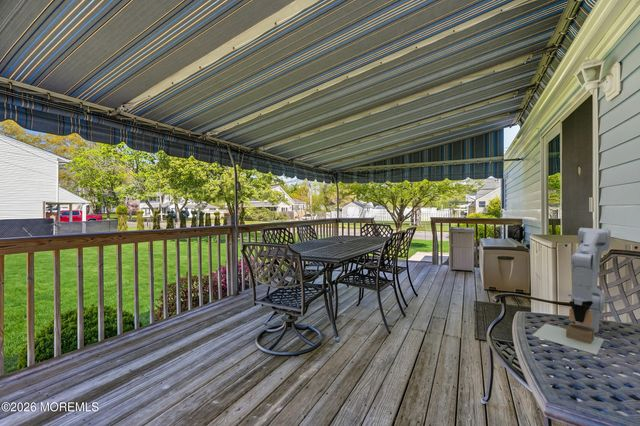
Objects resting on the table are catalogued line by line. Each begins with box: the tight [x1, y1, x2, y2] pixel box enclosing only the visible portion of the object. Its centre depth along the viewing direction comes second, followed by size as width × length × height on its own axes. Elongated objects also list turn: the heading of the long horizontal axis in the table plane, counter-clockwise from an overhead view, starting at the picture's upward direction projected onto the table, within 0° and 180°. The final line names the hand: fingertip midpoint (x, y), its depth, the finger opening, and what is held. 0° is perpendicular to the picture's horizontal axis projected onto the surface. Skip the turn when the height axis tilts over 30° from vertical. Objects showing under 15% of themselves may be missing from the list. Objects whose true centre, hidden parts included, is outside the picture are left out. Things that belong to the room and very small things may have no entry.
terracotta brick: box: [568, 307, 593, 326], centre depth 109 cm, size 4×6×4 cm
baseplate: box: [531, 323, 605, 356], centre depth 110 cm, size 20×18×1 cm
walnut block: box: [565, 322, 595, 344], centre depth 109 cm, size 7×7×4 cm
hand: (580, 320), depth 109 cm, fingers closed on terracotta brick, 4 cm apart
